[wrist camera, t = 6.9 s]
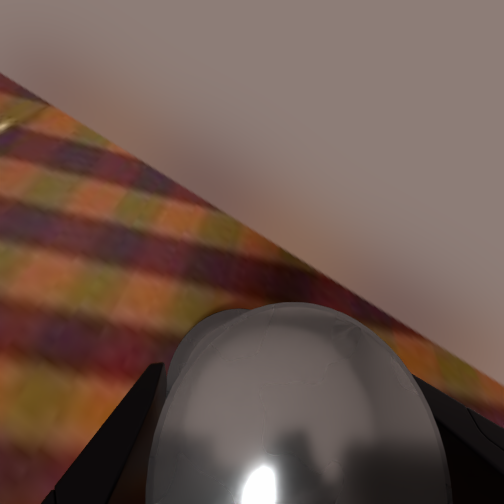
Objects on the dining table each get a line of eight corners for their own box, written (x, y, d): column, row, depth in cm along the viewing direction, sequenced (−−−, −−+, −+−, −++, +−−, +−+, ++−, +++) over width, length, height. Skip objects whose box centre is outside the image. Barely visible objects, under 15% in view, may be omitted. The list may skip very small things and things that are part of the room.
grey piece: (292, 419, 14) (516, 603, 4) (204, 449, 13) (162, 845, 2) (269, 330, 16) (373, 281, 6) (191, 349, 15) (136, 333, 4)
